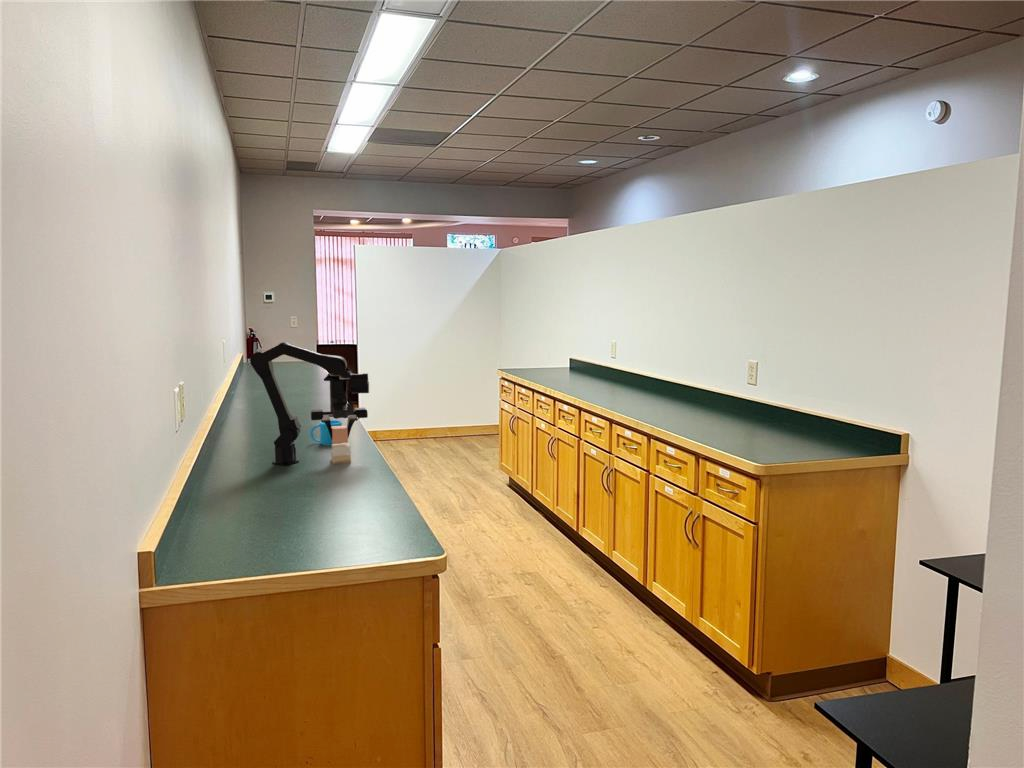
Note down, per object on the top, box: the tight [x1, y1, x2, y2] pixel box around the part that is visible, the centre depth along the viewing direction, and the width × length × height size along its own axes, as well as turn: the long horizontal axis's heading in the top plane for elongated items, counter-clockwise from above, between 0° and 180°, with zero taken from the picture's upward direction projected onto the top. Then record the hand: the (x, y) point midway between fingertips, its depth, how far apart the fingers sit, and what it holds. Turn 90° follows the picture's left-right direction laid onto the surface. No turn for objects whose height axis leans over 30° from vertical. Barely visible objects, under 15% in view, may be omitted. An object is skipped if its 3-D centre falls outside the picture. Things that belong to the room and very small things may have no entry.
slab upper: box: [331, 442, 352, 456], centre depth 257 cm, size 6×6×3 cm
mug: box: [309, 420, 343, 446], centre depth 287 cm, size 12×8×8 cm
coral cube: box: [331, 425, 349, 443], centre depth 256 cm, size 5×5×5 cm
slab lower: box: [331, 451, 352, 465], centre depth 257 cm, size 6×6×3 cm
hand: (339, 438), depth 256 cm, fingers closed on coral cube, 5 cm apart
